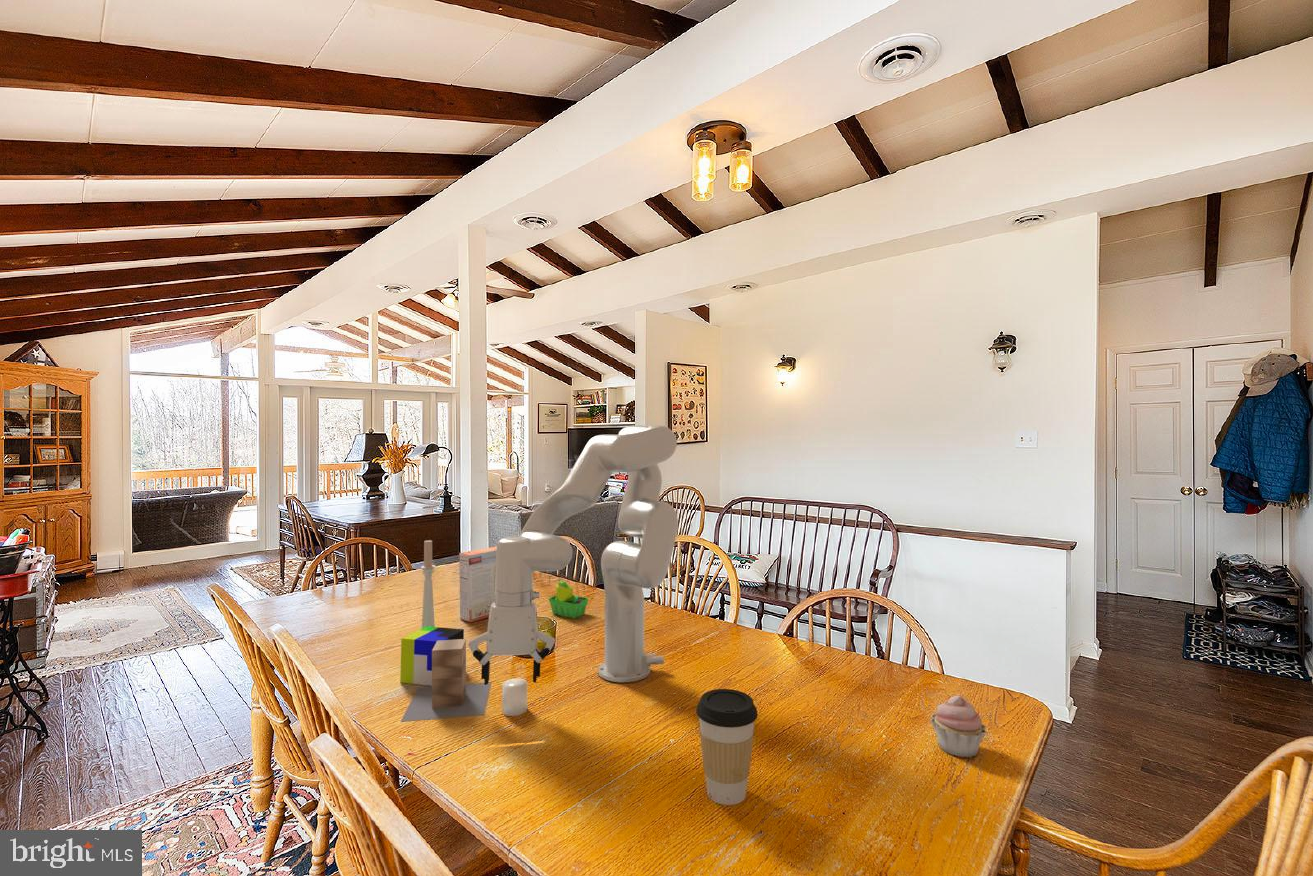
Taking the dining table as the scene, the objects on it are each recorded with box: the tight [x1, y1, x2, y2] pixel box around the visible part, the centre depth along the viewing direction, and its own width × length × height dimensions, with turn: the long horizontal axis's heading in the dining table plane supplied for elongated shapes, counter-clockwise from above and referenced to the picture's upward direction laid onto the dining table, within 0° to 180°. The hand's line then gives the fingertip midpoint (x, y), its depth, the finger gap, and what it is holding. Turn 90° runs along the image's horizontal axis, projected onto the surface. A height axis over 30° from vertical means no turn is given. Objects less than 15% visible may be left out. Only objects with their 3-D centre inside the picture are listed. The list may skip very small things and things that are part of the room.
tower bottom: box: [432, 666, 467, 708], centre depth 126 cm, size 6×6×6 cm
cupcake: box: [930, 695, 988, 759], centre depth 108 cm, size 9×9×10 cm
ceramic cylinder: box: [501, 677, 528, 717], centre depth 121 cm, size 5×5×6 cm
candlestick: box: [420, 539, 436, 629], centre depth 153 cm, size 13×13×30 cm
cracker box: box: [458, 545, 497, 623], centre depth 185 cm, size 14×6×21 cm, turn 140°
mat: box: [400, 681, 492, 723], centre depth 126 cm, size 16×16×1 cm
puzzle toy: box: [399, 626, 465, 686], centre depth 138 cm, size 10×10×10 cm
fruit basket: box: [548, 580, 589, 619], centre depth 187 cm, size 11×9×11 cm
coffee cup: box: [695, 688, 759, 806], centre depth 94 cm, size 10×10×15 cm
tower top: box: [432, 638, 467, 679], centre depth 126 cm, size 6×6×6 cm
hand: (510, 681), depth 121 cm, fingers open, 9 cm apart
